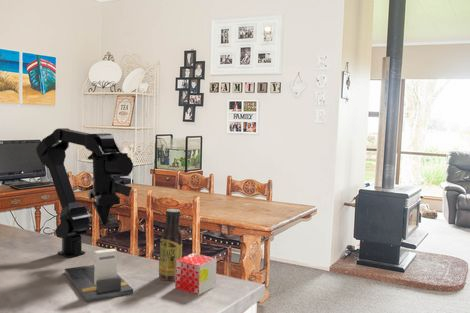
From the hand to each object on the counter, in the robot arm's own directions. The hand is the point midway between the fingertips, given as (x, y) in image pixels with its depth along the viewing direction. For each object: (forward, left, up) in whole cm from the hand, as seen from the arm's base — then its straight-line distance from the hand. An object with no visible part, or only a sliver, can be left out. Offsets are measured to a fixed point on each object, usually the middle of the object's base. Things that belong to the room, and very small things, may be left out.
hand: (104, 224), depth 146 cm
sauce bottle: (+24, +5, -12) cm, 28 cm away
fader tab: (+20, -14, -11) cm, 27 cm away
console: (+13, -12, -12) cm, 21 cm away
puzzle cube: (+34, +5, -12) cm, 37 cm away
